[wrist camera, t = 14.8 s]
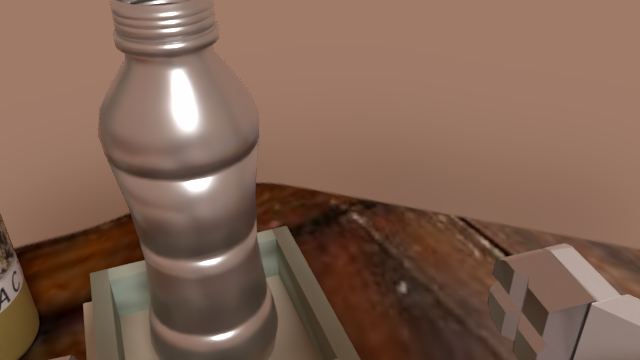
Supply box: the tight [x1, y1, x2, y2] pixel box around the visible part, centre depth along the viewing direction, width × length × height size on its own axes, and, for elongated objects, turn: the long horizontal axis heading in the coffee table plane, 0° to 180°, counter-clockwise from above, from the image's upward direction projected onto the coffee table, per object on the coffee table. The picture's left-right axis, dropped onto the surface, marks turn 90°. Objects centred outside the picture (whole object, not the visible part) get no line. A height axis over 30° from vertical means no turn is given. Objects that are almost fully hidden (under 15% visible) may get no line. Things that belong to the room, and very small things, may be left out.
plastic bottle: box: [98, 0, 278, 360], centre depth 27 cm, size 6×7×20 cm
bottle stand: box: [83, 226, 361, 360], centre depth 32 cm, size 14×14×4 cm
